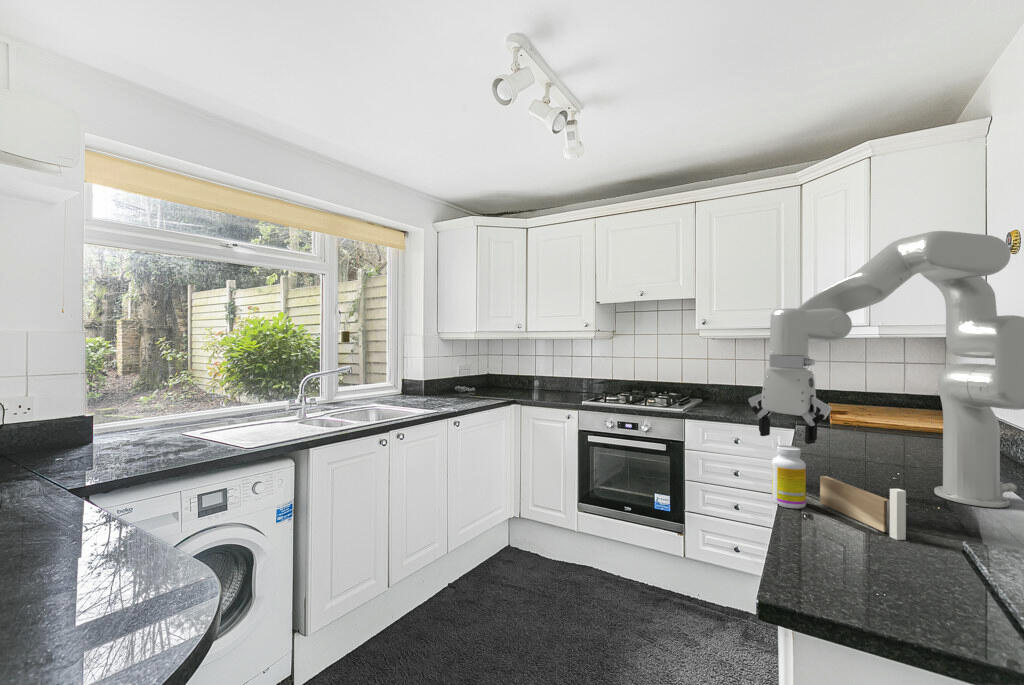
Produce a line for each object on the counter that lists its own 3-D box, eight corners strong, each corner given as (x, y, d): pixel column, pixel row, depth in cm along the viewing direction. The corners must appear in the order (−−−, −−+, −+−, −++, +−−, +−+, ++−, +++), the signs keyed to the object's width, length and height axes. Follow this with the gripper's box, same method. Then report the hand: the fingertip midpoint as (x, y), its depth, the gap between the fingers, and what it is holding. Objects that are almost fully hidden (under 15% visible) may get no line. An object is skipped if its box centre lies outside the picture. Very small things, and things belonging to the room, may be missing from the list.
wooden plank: (826, 503, 107) (826, 475, 107) (896, 534, 89) (896, 501, 89) (820, 503, 107) (820, 475, 107) (888, 534, 89) (888, 502, 89)
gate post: (898, 536, 89) (898, 488, 89) (905, 539, 88) (905, 491, 88) (889, 536, 89) (889, 488, 89) (896, 539, 87) (896, 491, 87)
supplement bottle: (812, 509, 103) (812, 451, 103) (781, 509, 103) (782, 450, 103) (794, 499, 110) (795, 444, 110) (766, 499, 110) (766, 444, 110)
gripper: (839, 365, 102) (837, 445, 102) (758, 361, 116) (756, 431, 116) (823, 365, 97) (821, 448, 97) (742, 361, 112) (740, 434, 112)
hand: (786, 439), depth 107 cm, fingers open, 9 cm apart
